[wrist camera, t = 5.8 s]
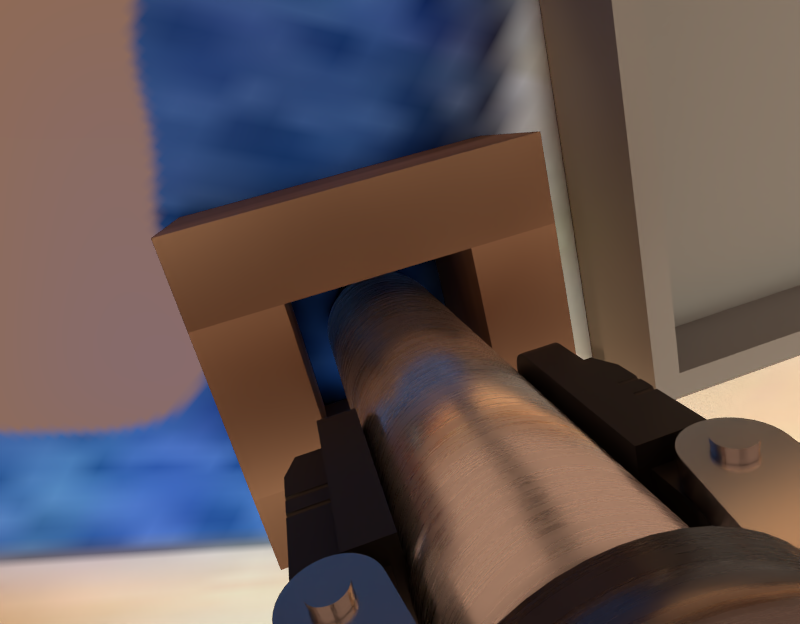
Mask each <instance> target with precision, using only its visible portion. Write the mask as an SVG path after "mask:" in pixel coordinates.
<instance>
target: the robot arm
mask: <svg viewBox="0 0 800 624" xmlns="http://www.w3.org/2000/svg"><path fill="white" fill-rule="evenodd" d="M517 370H518V373H520V374H521V375H522V376H523V377H524V378H525V379H526V380H527V381H528V382H530V383H531V384H532V385H533V386H534V387H535V388H536V389H537V390H538V391H539V392H541V393H542V394H543V395H544V396H545V397H546V398H547V399H548V400H549V401H551V402H552V403H553V404H554V405H555V406H556V407H557V408H558V409H559V410H561V411H562V412H563V413H564V414H565V415H566V416H567V417H568V418H569V419H570V420H572V421H573V422H574V423H575V424H576V425H577V426H578V427H579V428H580V429H582V430H583V431H584V432H585V433H586V434H587V435H588V436H589V437H590V438H592V439H593V440H594V441H595V442H596V443H597V444H598V445H599V446H600V447H601V448H603V449H604V450H605V451H606V452H607V453H608V454H609V455H610V456H611V457H613V458H614V459H615V460H616V461H617V462H618V463H619V464H620V465H621V466H623V467H624V468H625V469H626V470H627V471H628V472H629V473H630V474H631V475H632V476H634V477H635V478H636V479H637V480H638V481H639V482H640V483H641V484H642V485H644V486H645V487H646V488H647V489H648V490H649V491H650V492H651V493H652V494H653V495H655V496H656V497H657V498H658V499H659V500H660V501H661V502H662V503H663V504H665V505H666V506H667V507H668V508H669V509H670V510H671V511H672V512H673V513H675V514H676V515H677V516H678V517H679V518H680V519H681V520H682V521H683V522H684V523H686V524H687V525H688V526H689V527H690V528H692V527H704V526H723V527H740V528H745V529H750V530H754V531H759V532H764V533H767V534H769V535H772V536H774V537H777V538H780V539H782V540H785V541H787V542H789V543H790V544H792V545H793V546H795V547H797V548H798V549H800V443H799V442H797V441H796V440H795V439H793V438H792V437H791V436H789V435H788V434H787V433H785V432H784V431H782V430H780V429H778V428H776V427H774V426H772V425H769V424H766V423H763V422H759V421H755V420H750V419H744V418H714V419H708V420H706V419H705V418H703V417H702V416H700V415H698V414H697V413H695V412H694V411H692V410H690V409H689V408H687V407H686V406H684V405H682V404H681V403H679V402H678V401H676V400H674V399H673V398H671V397H670V396H668V395H666V394H665V393H663V392H662V391H660V390H658V389H655V390H654V388H653V386H652V385H650V384H649V383H647V382H646V381H644V380H642V379H638V378H637V376H636V375H634V374H633V373H631V372H629V371H628V370H626V369H625V368H623V367H621V366H620V365H618V364H615V363H611V362H607V361H603V360H599V359H595V358H589V359H586V360H583V359H581V358H580V357H578V356H577V355H575V354H574V353H573V352H571V351H570V350H568V349H567V348H565V347H564V346H562V345H561V344H559V343H556V342H555V343H552V344H549V345H546V346H543V347H540V348H536V349H533V350H530V351H527V352H524V353H521V354H519V355H518V356H517ZM317 428H318V433H319V439H320V444H321V448H320V449H317V450H314V451H311V452H309V453H306V454H303V455H300V456H297V457H295V458H294V460H293V462H292V463H291V465H290V467H289V469H288V471H287V473H286V475H285V477H284V489H285V499H286V501H285V508H286V516H287V518H286V528H287V547H288V567H289V582H288V584H287V585H286V586H285V587H284V589H283V590H282V592H281V593H280V595H279V596H278V599H277V601H276V603H275V606H274V610H273V616H272V623H273V624H418V621H417V618H416V615H415V611H414V608H413V604H412V599H411V595H410V573H409V570H408V567H407V563H406V560H405V557H404V553H403V550H402V547H401V543H400V540H399V537H398V534H397V530H396V527H395V524H394V522H393V519H392V516H391V513H390V510H389V507H388V504H387V501H386V498H385V495H384V492H383V489H382V486H381V483H380V480H379V477H378V474H377V471H376V468H375V465H374V462H373V459H372V456H371V453H370V450H369V447H368V444H367V441H366V438H365V435H364V433H363V430H362V427H361V424H360V421H359V418H358V415H357V412H356V409H355V408H353V409H350V410H347V411H344V412H341V413H338V414H335V415H332V416H329V417H326V418H323V419H320V420H317Z"/></svg>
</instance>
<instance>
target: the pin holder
mask: <svg viewBox="0 0 800 624" xmlns="http://www.w3.org/2000/svg"><path fill="white" fill-rule="evenodd" d="M151 240H152V242H153V245H154V247H155V250H156V252H157V255H158V258H159V260H160V263H161V265H162V267H163V270H164V273H165V275H166V278H167V280H168V283H169V286H170V288H171V291H172V293H173V296H174V298H175V301H176V303H177V306H178V308H179V311H180V314H181V316H182V319H183V321H184V324H185V326H186V329H187V331H188V334H189V336H190V339H191V342H192V344H193V347H194V349H195V352H196V354H197V357H198V360H199V362H200V365H201V367H202V370H203V372H204V375H205V377H206V380H207V382H208V385H209V388H210V390H211V393H212V395H213V398H214V400H215V403H216V405H217V408H218V410H219V413H220V416H221V418H222V421H223V423H224V426H225V428H226V431H227V433H228V436H229V439H230V441H231V444H232V446H233V449H234V451H235V454H236V456H237V459H238V461H239V464H240V467H241V469H242V472H243V474H244V477H245V479H246V482H247V484H248V487H249V490H250V492H251V495H252V497H253V500H254V502H255V505H256V507H257V510H258V512H259V515H260V518H261V520H262V523H263V525H264V528H265V530H266V533H267V535H268V538H269V541H270V543H271V546H272V548H273V551H274V553H275V556H276V558H277V561H278V563H279V566H280V569H281V570H282V569H285V568H288V547H287V528H286V518H287V516H286V508H285V501H286V499H285V489H284V477H285V475H286V473H287V471H288V469H289V467H290V465H291V463H292V462H293V460H294V458H295V457H297V456H300V455H303V454H306V453H309V452H311V451H314V450H317V449H320V448H321V444H320V439H319V433H318V428H317V420H320V419H323V418H326V417H329V416H332V415H335V414H338V413H341V412H344V411H347V410H350V406H349V403H348V400H347V399H344V400H341V401H338V402H334V403H331V404H328V405H325V406H324V403H323V399H322V396H321V393H320V390H319V387H318V384H317V381H316V378H315V375H314V372H313V369H312V366H311V362H310V359H309V356H308V353H307V350H306V347H305V344H304V341H303V338H302V335H301V332H300V329H299V325H298V322H297V319H296V316H295V313H294V310H293V307H292V304H291V302H293V301H296V300H300V299H303V298H306V297H310V296H313V295H316V294H320V293H323V292H326V291H330V290H333V289H336V288H340V287H343V286H346V285H350V284H353V283H356V282H360V281H363V280H366V279H370V278H373V277H376V276H380V275H383V274H386V273H390V272H393V271H397V270H400V269H403V268H407V267H410V266H413V265H417V264H420V263H423V262H427V261H430V260H433V259H435V261H436V266H437V270H438V274H439V278H440V283H441V287H442V291H443V296H444V300H445V304H446V307H447V308H448V309H449V310H450V311H451V312H452V313H453V314H454V315H455V316H456V317H458V318H459V319H460V320H461V321H462V322H463V323H464V324H465V325H466V326H468V327H469V328H470V329H471V330H472V331H473V332H474V333H475V334H476V335H478V336H479V337H480V338H481V339H482V340H483V341H484V342H485V343H486V344H487V345H489V346H490V347H491V348H492V349H493V350H494V351H495V352H496V353H497V354H499V355H500V356H501V357H502V358H503V359H504V360H505V361H506V362H507V363H509V364H510V365H511V366H512V367H513V368H514V369H515V370H516V371H517V372H518V370H517V356H518V355H519V354H521V353H524V352H527V351H530V350H533V349H536V348H540V347H543V346H546V345H549V344H552V343H555V342H556V343H559V344H561V345H562V346H564V347H565V348H567V349H568V350H570V351H571V352H573V353H574V354H575V355H576V351H575V345H574V339H573V333H572V326H571V320H570V314H569V308H568V302H567V295H566V289H565V283H564V277H563V270H562V264H561V258H560V252H559V245H558V239H557V233H556V227H555V221H554V214H553V208H552V202H551V196H550V189H549V183H548V177H547V171H546V165H545V158H544V152H543V146H542V140H541V133H540V132H527V133H513V134H499V135H485V136H478V137H474V138H471V139H467V140H463V141H460V142H456V143H452V144H448V145H445V146H441V147H437V148H434V149H430V150H426V151H423V152H419V153H415V154H412V155H408V156H404V157H401V158H397V159H393V160H390V161H386V162H382V163H378V164H375V165H371V166H367V167H364V168H360V169H356V170H353V171H349V172H345V173H342V174H338V175H334V176H331V177H327V178H323V179H320V180H316V181H312V182H308V183H305V184H301V185H297V186H294V187H290V188H286V189H283V190H279V191H275V192H272V193H268V194H264V195H261V196H257V197H253V198H250V199H246V200H242V201H238V202H235V203H231V204H227V205H224V206H220V207H216V208H213V209H209V210H205V211H202V212H198V213H194V214H191V215H187V216H183V217H180V218H178V219H176V220H175V221H174V222H172V223H171V224H170V225H168V226H167V227H166V228H164V229H163V230H162V231H160V232H159V233H158V234H156V235H155V236H153V237H152V238H151Z"/></svg>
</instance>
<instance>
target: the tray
mask: <svg viewBox="0 0 800 624" xmlns="http://www.w3.org/2000/svg"><path fill="white" fill-rule="evenodd" d="M539 2H540V8H541V15H542V22H543V28H544V35H545V41H546V48H547V55H548V61H549V68H550V75H551V81H552V88H553V95H554V101H555V108H556V115H557V121H558V128H559V135H560V141H561V148H562V154H563V161H564V168H565V174H566V181H567V188H568V194H569V201H570V208H571V214H572V221H573V228H574V234H575V241H576V247H577V254H578V261H579V267H580V274H581V281H582V287H583V294H584V301H585V307H586V314H587V321H588V327H589V334H590V340H591V347H592V354H593V358H595V359H599V360H603V361H607V362H611V363H615V364H618V365H620V366H621V367H623V368H625V369H626V370H628V371H629V372H631V373H633V374H634V375H636V376H637V378H638V379H642V380H644V381H646V382H647V383H649V384H650V385H652V386H653V388H654V390H655V389H658V390H660V391H662V392H663V393H665V394H666V395H668V396H670V397H671V398H673V399H674V400H676V399H679V398H681V397H684V396H687V395H690V394H693V393H695V392H698V391H701V390H704V389H707V388H709V387H712V386H715V385H718V384H721V383H723V382H726V381H729V380H732V379H735V378H737V377H740V376H743V375H746V374H749V373H751V372H754V371H757V370H760V369H763V368H766V367H768V366H771V365H774V364H777V363H780V362H782V361H785V360H788V359H791V358H794V357H796V356H799V355H800V0H539Z"/></svg>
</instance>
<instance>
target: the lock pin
mask: <svg viewBox="0 0 800 624" xmlns="http://www.w3.org/2000/svg"><path fill="white" fill-rule="evenodd" d="M328 338H329V343H330V346H331V349H332V352H333V356H334V359H335V362H336V365H337V368H338V371H339V375H340V378H341V381H342V384H343V387H344V390H345V394H346V397H347V400H348V403H349V406H350V409H353V408H355V409H356V412H357V415H358V418H359V421H360V424H361V427H362V430H363V433H364V435H365V438H366V441H367V444H368V447H369V450H370V453H371V456H372V459H373V462H374V465H375V468H376V471H377V474H378V477H379V480H380V483H381V486H382V489H383V492H384V495H385V498H386V501H387V504H388V507H389V510H390V513H391V516H392V519H393V522H394V524H395V527H396V530H397V534H398V537H399V540H400V543H401V547H402V550H403V553H404V557H405V560H406V563H407V567H408V570H409V573H410V595H411V599H412V604H413V608H414V611H415V615H416V618H417V621H418V624H800V549H798V548H797V547H795V546H793V545H792V544H790V543H789V542H787V541H785V540H782V539H780V538H777V537H774V536H772V535H769V534H767V533H764V532H759V531H754V530H750V529H745V528H740V527H723V526H704V527H692V528H690V527H689V526H688V525H687V524H686V523H684V522H683V521H682V520H681V519H680V518H679V517H678V516H677V515H676V514H675V513H673V512H672V511H671V510H670V509H669V508H668V507H667V506H666V505H665V504H663V503H662V502H661V501H660V500H659V499H658V498H657V497H656V496H655V495H653V494H652V493H651V492H650V491H649V490H648V489H647V488H646V487H645V486H644V485H642V484H641V483H640V482H639V481H638V480H637V479H636V478H635V477H634V476H632V475H631V474H630V473H629V472H628V471H627V470H626V469H625V468H624V467H623V466H621V465H620V464H619V463H618V462H617V461H616V460H615V459H614V458H613V457H611V456H610V455H609V454H608V453H607V452H606V451H605V450H604V449H603V448H601V447H600V446H599V445H598V444H597V443H596V442H595V441H594V440H593V439H592V438H590V437H589V436H588V435H587V434H586V433H585V432H584V431H583V430H582V429H580V428H579V427H578V426H577V425H576V424H575V423H574V422H573V421H572V420H570V419H569V418H568V417H567V416H566V415H565V414H564V413H563V412H562V411H561V410H559V409H558V408H557V407H556V406H555V405H554V404H553V403H552V402H551V401H549V400H548V399H547V398H546V397H545V396H544V395H543V394H542V393H541V392H539V391H538V390H537V389H536V388H535V387H534V386H533V385H532V384H531V383H530V382H528V381H527V380H526V379H525V378H524V377H523V376H522V375H521V374H520V373H518V372H517V371H516V370H515V369H514V368H513V367H512V366H511V365H510V364H509V363H507V362H506V361H505V360H504V359H503V358H502V357H501V356H500V355H499V354H497V353H496V352H495V351H494V350H493V349H492V348H491V347H490V346H489V345H487V344H486V343H485V342H484V341H483V340H482V339H481V338H480V337H479V336H478V335H476V334H475V333H474V332H473V331H472V330H471V329H470V328H469V327H468V326H466V325H465V324H464V323H463V322H462V321H461V320H460V319H459V318H458V317H456V316H455V315H454V314H453V313H452V312H451V311H450V310H449V309H448V308H447V307H445V306H444V305H443V304H442V303H441V302H440V301H439V300H438V299H437V298H435V297H434V296H433V295H432V294H431V293H430V292H429V291H428V290H427V289H425V288H424V287H423V286H422V285H421V284H420V283H419V282H417V281H416V280H414V279H413V278H411V277H408V276H406V275H403V274H400V273H395V272H390V273H386V274H383V275H380V276H376V277H373V278H370V279H366V280H363V281H360V282H356V283H353V284H350V285H349V286H347V287H346V288H345V289H344V290H343V291H342V292H341V294H340V295H339V296H338V298H337V299H336V301H335V302H334V304H333V306H332V309H331V312H330V315H329V319H328Z"/></svg>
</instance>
